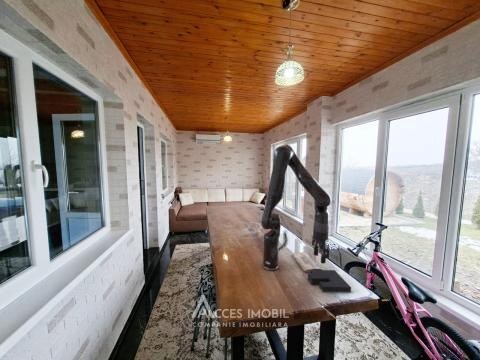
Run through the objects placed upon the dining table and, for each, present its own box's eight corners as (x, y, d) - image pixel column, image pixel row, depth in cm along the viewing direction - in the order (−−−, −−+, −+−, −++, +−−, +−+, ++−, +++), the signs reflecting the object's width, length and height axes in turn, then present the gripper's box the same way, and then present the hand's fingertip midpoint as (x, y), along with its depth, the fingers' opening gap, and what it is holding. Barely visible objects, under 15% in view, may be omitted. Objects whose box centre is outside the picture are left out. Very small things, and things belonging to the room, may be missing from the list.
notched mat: (310, 274, 111) (310, 269, 111) (334, 274, 111) (334, 270, 111) (323, 291, 95) (323, 286, 95) (350, 291, 95) (351, 287, 95)
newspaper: (324, 271, 114) (324, 267, 114) (304, 274, 113) (304, 270, 113) (308, 254, 137) (308, 250, 136) (291, 256, 136) (291, 252, 136)
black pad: (308, 279, 106) (308, 273, 106) (324, 279, 106) (324, 273, 106) (311, 284, 101) (311, 278, 101) (328, 284, 101) (328, 278, 101)
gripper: (308, 225, 109) (307, 253, 110) (320, 234, 95) (318, 266, 96) (321, 225, 109) (320, 253, 111) (334, 234, 95) (333, 266, 96)
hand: (319, 259), depth 103 cm, fingers open, 8 cm apart
